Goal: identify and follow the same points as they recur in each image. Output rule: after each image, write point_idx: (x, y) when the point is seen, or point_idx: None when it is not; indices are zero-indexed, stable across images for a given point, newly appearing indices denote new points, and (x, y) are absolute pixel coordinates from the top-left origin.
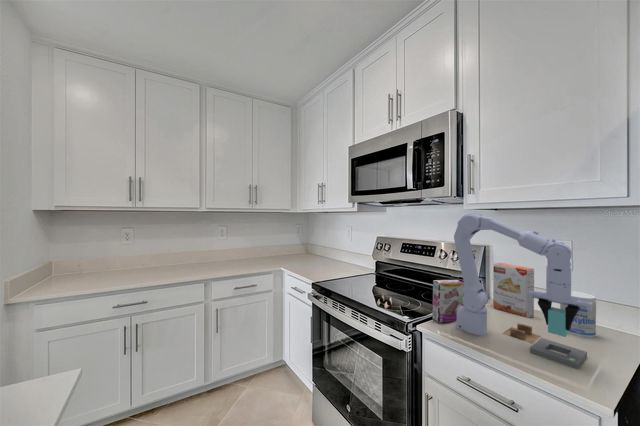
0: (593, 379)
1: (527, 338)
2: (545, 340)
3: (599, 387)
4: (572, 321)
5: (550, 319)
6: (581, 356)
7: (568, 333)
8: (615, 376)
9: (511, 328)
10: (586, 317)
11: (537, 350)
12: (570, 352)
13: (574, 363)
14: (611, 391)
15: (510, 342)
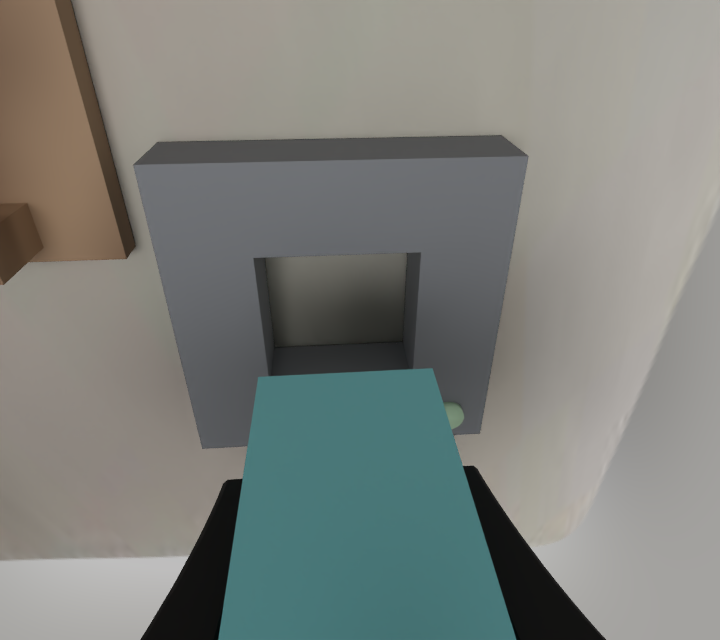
0: (530, 397)
1: (27, 175)
2: (193, 209)
3: (550, 447)
4: (533, 560)
5: None
6: (491, 308)
7: (432, 380)
8: (644, 261)
9: None
10: None
11: None
12: (419, 298)
13: (460, 432)
14: (592, 441)
15: (6, 316)
